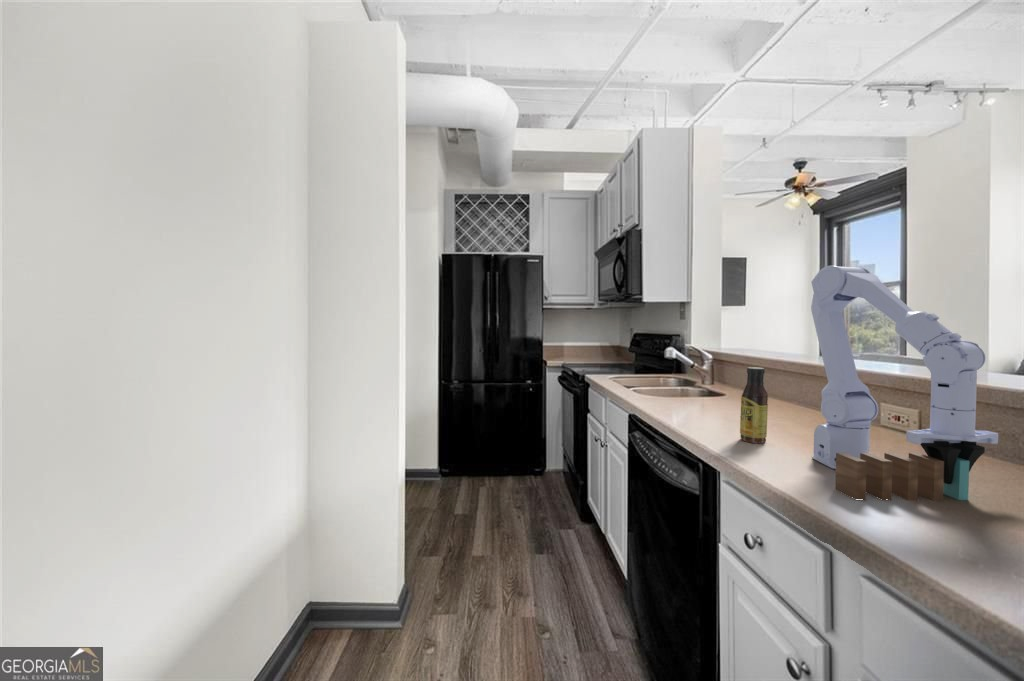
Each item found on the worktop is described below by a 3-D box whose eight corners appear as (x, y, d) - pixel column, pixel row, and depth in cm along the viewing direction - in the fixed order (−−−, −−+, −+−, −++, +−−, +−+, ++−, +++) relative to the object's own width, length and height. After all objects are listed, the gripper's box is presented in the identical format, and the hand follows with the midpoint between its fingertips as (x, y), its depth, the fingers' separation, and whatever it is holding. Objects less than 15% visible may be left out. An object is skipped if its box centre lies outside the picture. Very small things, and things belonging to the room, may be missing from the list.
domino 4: (933, 500, 75) (934, 461, 74) (907, 489, 80) (908, 452, 79) (943, 500, 75) (944, 461, 74) (916, 489, 80) (917, 452, 79)
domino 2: (882, 500, 75) (883, 461, 75) (859, 489, 80) (860, 452, 80) (891, 500, 75) (892, 461, 75) (868, 489, 80) (868, 452, 80)
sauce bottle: (735, 438, 116) (736, 366, 116) (758, 438, 116) (759, 366, 116) (748, 444, 110) (749, 368, 109) (772, 444, 110) (773, 368, 109)
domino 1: (856, 500, 75) (857, 461, 75) (835, 489, 80) (836, 452, 80) (865, 500, 75) (866, 461, 75) (843, 489, 80) (844, 452, 80)
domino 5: (958, 500, 75) (960, 460, 74) (931, 489, 80) (932, 452, 79) (968, 500, 75) (969, 460, 74) (940, 489, 80) (941, 452, 79)
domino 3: (907, 500, 75) (908, 461, 74) (883, 489, 80) (884, 452, 80) (917, 500, 75) (918, 461, 74) (892, 489, 80) (893, 452, 79)
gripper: (933, 412, 73) (931, 490, 73) (1019, 412, 72) (1016, 490, 73) (896, 404, 80) (895, 476, 80) (975, 404, 79) (972, 476, 80)
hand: (950, 482), depth 77 cm, fingers closed
